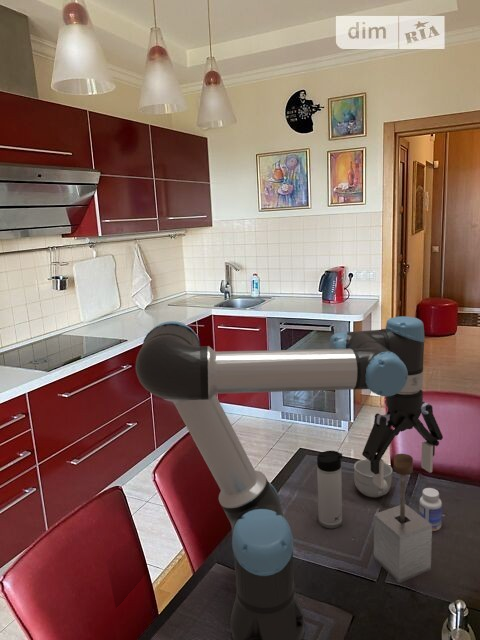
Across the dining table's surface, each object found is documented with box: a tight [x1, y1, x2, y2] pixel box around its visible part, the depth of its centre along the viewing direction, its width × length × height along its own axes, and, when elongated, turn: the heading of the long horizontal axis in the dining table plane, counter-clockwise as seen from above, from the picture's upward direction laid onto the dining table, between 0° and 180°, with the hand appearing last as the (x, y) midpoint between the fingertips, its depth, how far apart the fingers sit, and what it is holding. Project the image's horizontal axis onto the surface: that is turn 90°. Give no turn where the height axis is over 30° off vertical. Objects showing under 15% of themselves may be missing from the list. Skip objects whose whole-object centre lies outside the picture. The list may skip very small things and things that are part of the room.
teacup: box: [353, 458, 394, 498], centre depth 143 cm, size 14×11×8 cm
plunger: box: [393, 453, 414, 524], centre depth 112 cm, size 7×7×18 cm
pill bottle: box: [418, 487, 443, 532], centre depth 128 cm, size 5×5×10 cm
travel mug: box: [316, 450, 343, 529], centre depth 130 cm, size 6×7×20 cm
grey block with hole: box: [373, 503, 433, 584], centre depth 116 cm, size 9×11×12 cm
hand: (403, 477), depth 111 cm, fingers open, 13 cm apart
